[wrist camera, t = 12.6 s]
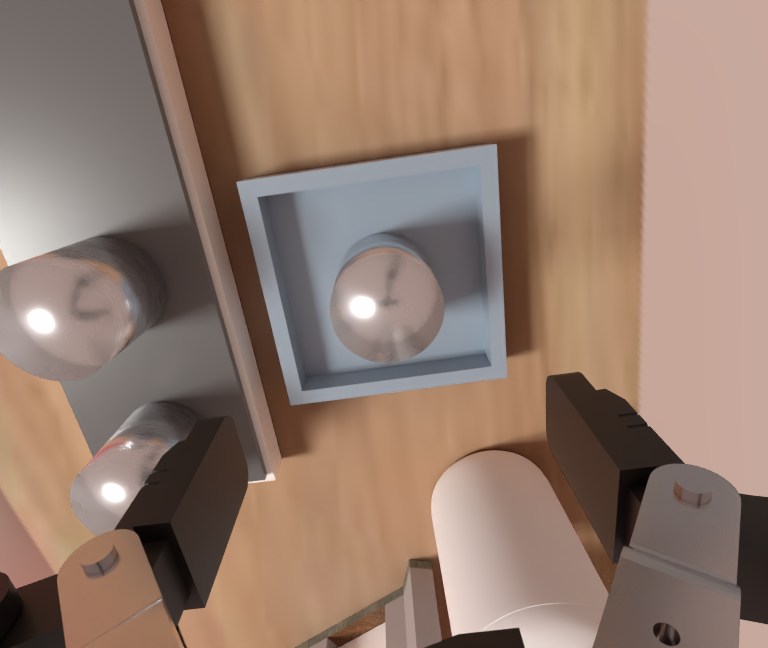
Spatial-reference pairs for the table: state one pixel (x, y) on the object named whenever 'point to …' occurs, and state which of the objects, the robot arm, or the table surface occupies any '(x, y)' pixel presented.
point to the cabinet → (391, 618)
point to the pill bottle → (513, 554)
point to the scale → (125, 206)
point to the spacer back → (128, 463)
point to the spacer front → (386, 299)
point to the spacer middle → (78, 307)
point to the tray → (371, 216)
